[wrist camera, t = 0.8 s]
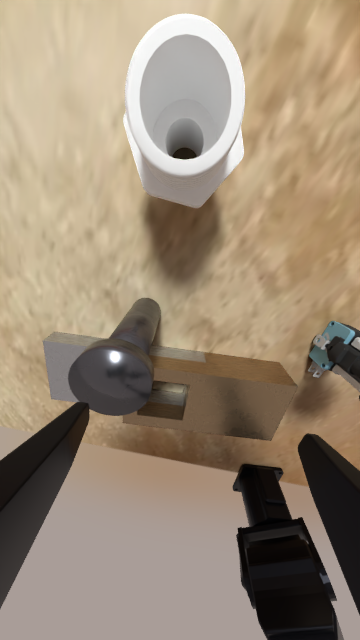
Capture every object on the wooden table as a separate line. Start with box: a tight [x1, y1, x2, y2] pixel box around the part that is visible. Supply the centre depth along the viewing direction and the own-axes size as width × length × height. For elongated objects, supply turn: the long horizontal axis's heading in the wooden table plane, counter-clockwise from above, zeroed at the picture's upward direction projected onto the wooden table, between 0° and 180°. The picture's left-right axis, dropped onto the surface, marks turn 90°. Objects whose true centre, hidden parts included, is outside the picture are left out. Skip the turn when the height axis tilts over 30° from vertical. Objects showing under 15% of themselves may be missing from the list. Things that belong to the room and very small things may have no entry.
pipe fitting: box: [123, 14, 245, 208], centre depth 12 cm, size 6×7×8 cm
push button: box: [308, 321, 360, 399], centre depth 17 cm, size 7×5×10 cm
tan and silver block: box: [43, 332, 298, 441], centre depth 22 cm, size 8×26×4 cm, turn 82°
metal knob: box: [68, 298, 161, 416], centre depth 16 cm, size 4×4×11 cm
